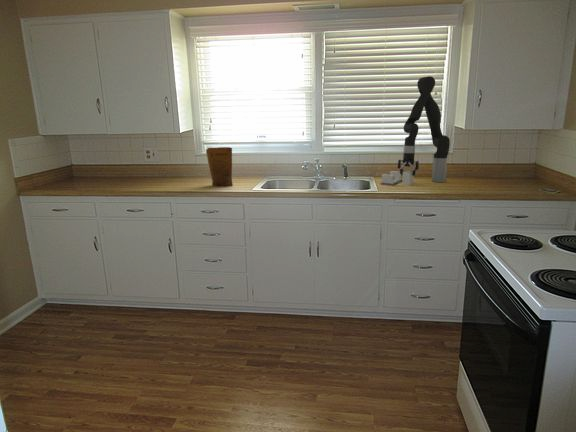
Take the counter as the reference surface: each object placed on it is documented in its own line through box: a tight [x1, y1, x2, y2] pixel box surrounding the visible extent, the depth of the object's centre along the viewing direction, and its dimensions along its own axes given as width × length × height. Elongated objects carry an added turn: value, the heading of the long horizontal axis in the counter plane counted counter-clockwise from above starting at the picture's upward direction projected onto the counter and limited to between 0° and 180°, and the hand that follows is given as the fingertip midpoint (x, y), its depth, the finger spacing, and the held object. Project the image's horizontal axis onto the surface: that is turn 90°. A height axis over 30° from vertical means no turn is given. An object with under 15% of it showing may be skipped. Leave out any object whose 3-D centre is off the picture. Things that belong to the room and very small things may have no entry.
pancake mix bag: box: [205, 146, 234, 187], centre depth 308 cm, size 7×19×28 cm, turn 75°
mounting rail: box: [380, 170, 403, 187], centre depth 309 cm, size 9×20×7 cm, turn 146°
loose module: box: [401, 169, 415, 186], centre depth 304 cm, size 5×9×9 cm, turn 146°
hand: (407, 175), depth 303 cm, fingers open, 8 cm apart
